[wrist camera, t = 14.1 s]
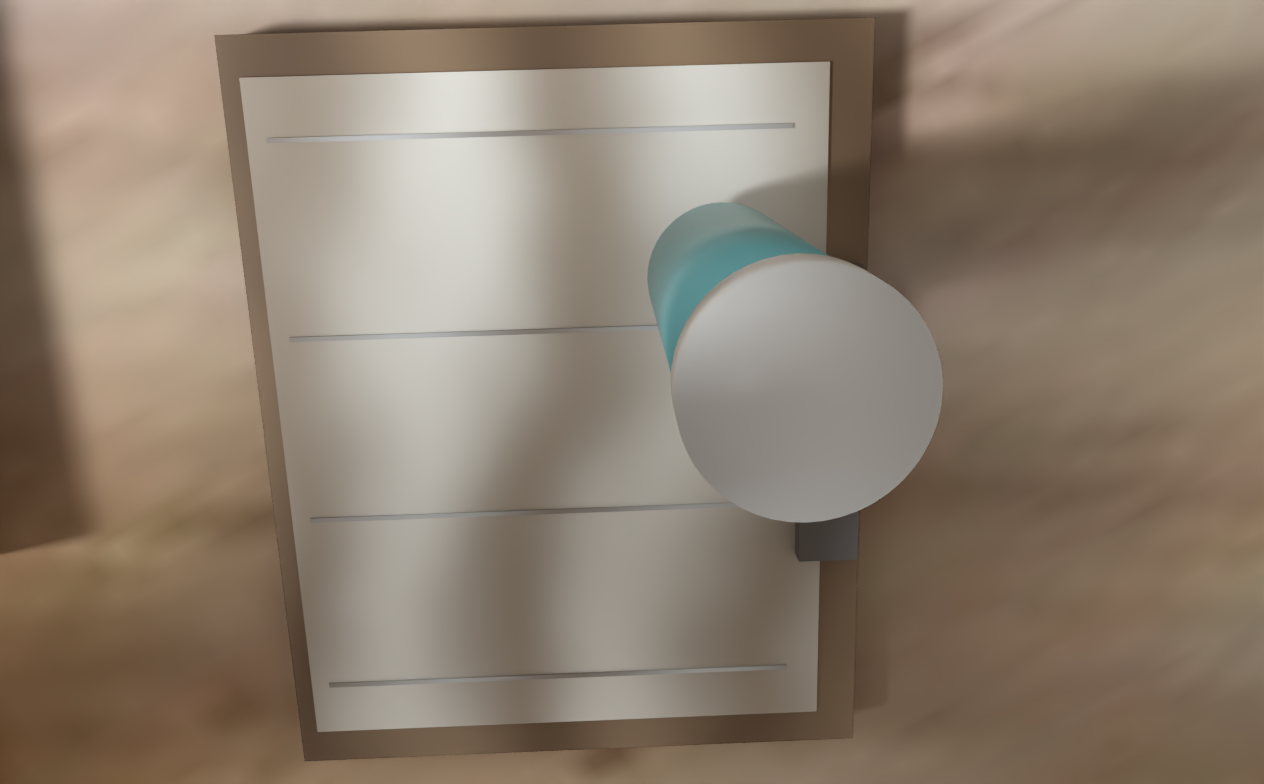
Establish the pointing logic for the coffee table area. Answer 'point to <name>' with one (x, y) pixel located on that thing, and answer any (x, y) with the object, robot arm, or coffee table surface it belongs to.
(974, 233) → the coffee table surface
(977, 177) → the coffee table surface
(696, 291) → the cylinder
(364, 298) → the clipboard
